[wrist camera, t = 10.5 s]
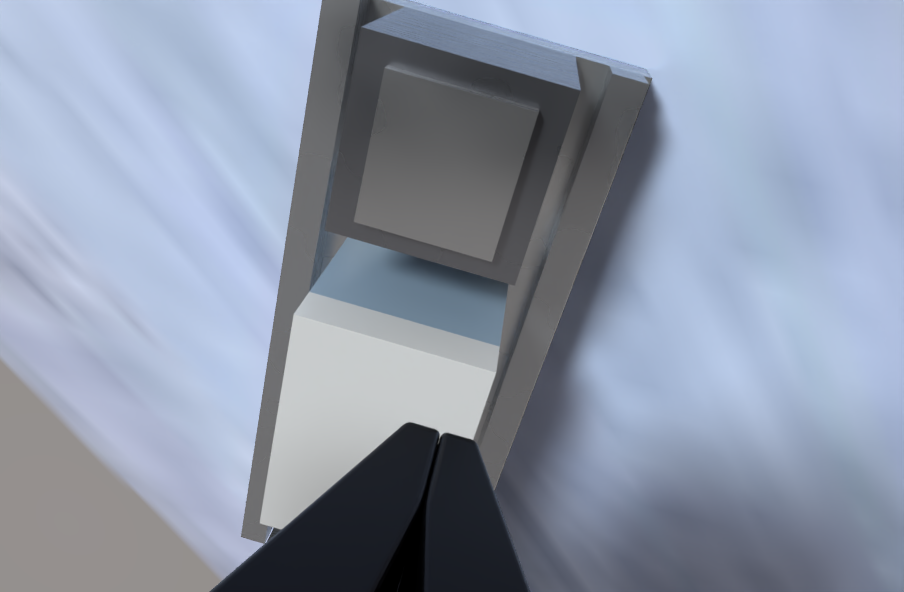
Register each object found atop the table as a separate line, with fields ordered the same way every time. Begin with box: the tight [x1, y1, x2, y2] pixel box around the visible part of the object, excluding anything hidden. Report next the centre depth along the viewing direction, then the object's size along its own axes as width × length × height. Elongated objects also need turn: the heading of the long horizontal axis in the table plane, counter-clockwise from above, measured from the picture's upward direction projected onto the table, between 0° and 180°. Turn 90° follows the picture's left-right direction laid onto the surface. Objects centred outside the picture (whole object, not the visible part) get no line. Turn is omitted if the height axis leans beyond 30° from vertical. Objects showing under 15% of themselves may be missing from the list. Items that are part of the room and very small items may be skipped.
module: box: [260, 237, 509, 530], centre depth 18 cm, size 4×6×5 cm
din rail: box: [241, 0, 652, 591], centre depth 18 cm, size 8×17×6 cm, turn 165°
